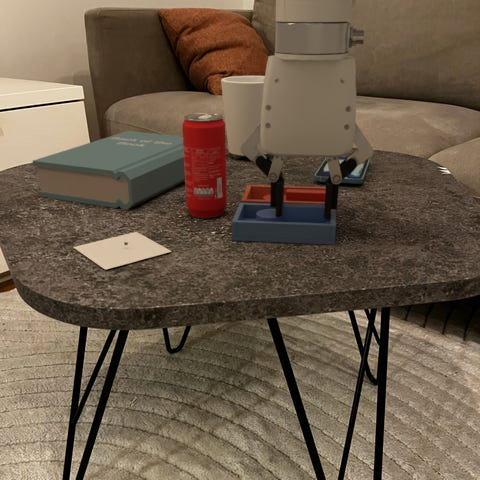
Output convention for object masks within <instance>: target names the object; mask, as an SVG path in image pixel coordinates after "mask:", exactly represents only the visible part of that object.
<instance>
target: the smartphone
mask: <svg viewBox="0 0 480 480" xmlns="http://www.w3.org/2000/svg"><path fill="white" fill-rule="evenodd" d="M347 157H348V156H342V157H339V162H340V163H342V162H343V161H344V160H345V159H346V158H347ZM324 158H325V159H324V160H323V161H322V163H321V164H320V166H319V167H318V169H317V170H316V172H315V173H314V174H313V180H314V181H316V182H319V183H326V179H328V174H329V168H328V163H327V159H326V157H324ZM370 163H371V158H369V159H367V160H366V161H364V162H363V163H362V164H360V165H358V166H357V167H356V168H355V169H354V170H353V171H352V172H351V173H350V174H348V175H347V176H346V177H345V178H344V179H343V180H342V181H341V183H342V184H355V185H356V184H359V185H360V184H363V183H364V180H365V177H366V175H367V172H368V170H369V167H370ZM341 183H340V184H341Z"/></svg>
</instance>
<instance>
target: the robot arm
mask: <svg viewBox="0 0 480 480" xmlns="http://www.w3.org/2000/svg"><path fill="white" fill-rule="evenodd" d="M352 7H353V0H275V24H274V54H273V55H269V56H268V58H267V61H266V66H265V67H266V68H265V71H264V72H265V73H264V76H265V79H264V87H263V97H262V110H261V122H260V123H259V124H258V126H257V127H256V128H255V129H254V131H253V132H252V133H251V134H250V136H249V137H248V138H247V140H246V141H245V142H244V143H243V145H242V147H241V152H242V153H243V154H244V155H245V156H246V158H247V159H248V158H249V159H250V161H251V162H253V164H255V165H256V167H257V168H258V169H259V170H260V171H261V172H262V173H263V174H264V175H265V176H266V177H267V179H268V181H269V182H270V186H271V198H270V207H276V217H280V216H282V207H283V203H284V186H285V177H284V175H283V172H282V170H283V169H282V168H283V166H284V162H285V159H286V157H293V158H294V157H297V158H298V157H299V158H326V159H327V163H328V168H329V174H328V179H326V182H325V187H326V190H325V210H324V217H326V219H330V216H331V209H334V210H335V211H336V210H338V201H339V190H340V189H339V187H340V184H341V181H342V180H343V179H344V178H345V177H346V176H347V175H348V174H350V173H351V172H352V171H353V170H354V169H355V168H356V167H357V166H358V165H360V164H362V163H363V162H364V161H366V160H367V159H371V157H373V156H374V153H375V152H374V148H373V147H372V144H371V143H370V142H369V140H368V139H367V138H366V136H365V134H364V133H363V131H362V130H361V129H360V127H359V126H358V124H357V123H356V115H357V68H356V59H355V56H352V55H349V49H352V48H353V47H356V45H364V39H365V29H358V28H354V26H351V25H352V24H351V21H352V9H353V8H352ZM259 141H261V148H262V150H263V151H264V152H266V153H267V154H270V156H273V159H272V160H271V159H270V157H269V158H268V157H267V156H266V155H265V154H263V153H262V152H260V150H258V148H257V144H258V143H259ZM354 145H355V146H356V151H354V152H353V153H352V154H351V155H349V154H350V153H351V152H352V150H353V147H354ZM245 156H244V157H245ZM339 157H347V158H346V159H345V160H344V161H343V162H342V163H340V162H339ZM249 159H248V160H249Z"/></svg>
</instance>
